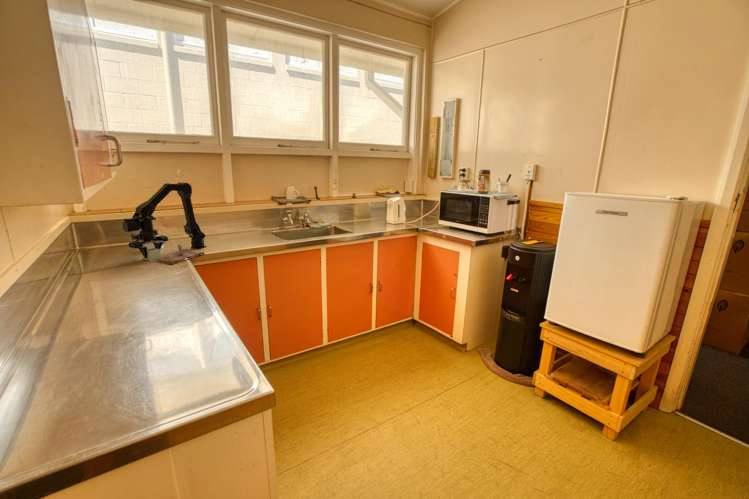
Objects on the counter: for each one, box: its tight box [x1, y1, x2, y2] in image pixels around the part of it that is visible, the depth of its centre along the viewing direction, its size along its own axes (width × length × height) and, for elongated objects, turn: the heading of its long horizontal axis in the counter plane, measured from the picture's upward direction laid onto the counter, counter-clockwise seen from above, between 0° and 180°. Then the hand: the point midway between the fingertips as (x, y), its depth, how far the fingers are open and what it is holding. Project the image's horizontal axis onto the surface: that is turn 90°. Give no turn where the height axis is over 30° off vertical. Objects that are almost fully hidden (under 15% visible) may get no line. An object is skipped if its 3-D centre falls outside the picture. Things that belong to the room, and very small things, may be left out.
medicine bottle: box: [144, 228, 165, 250], centre depth 206 cm, size 7×7×12 cm
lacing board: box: [156, 243, 205, 265], centre depth 192 cm, size 20×12×8 cm, turn 157°
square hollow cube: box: [141, 248, 162, 262], centre depth 190 cm, size 6×6×5 cm
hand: (151, 256), depth 190 cm, fingers closed on square hollow cube, 6 cm apart
